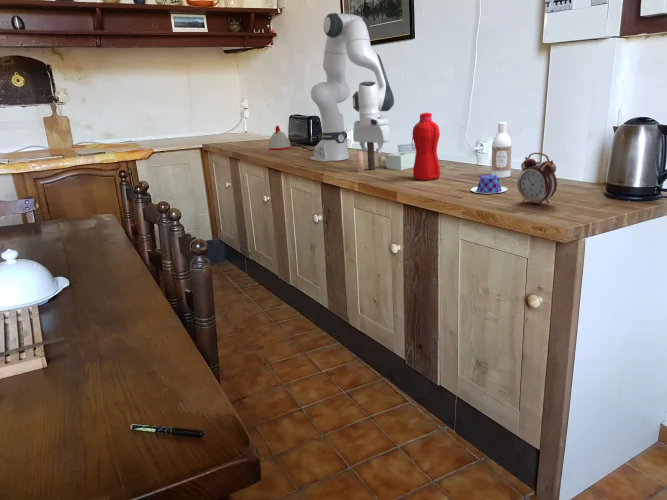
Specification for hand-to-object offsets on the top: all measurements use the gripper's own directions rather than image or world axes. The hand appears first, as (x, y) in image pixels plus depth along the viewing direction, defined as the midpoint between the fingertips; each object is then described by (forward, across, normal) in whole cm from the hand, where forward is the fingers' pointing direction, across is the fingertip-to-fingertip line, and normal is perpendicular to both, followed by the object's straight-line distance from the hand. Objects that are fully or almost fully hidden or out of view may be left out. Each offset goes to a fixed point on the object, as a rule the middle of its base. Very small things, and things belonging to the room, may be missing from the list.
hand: (371, 152), depth 229 cm
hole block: (+8, +8, +10) cm, 15 cm away
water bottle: (+8, +36, -6) cm, 37 cm away
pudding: (+9, +69, -11) cm, 70 cm away
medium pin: (+8, 0, -7) cm, 10 cm away
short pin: (+8, 0, +6) cm, 10 cm away
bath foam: (+8, +58, +12) cm, 60 cm away
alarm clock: (+8, +91, -19) cm, 93 cm away
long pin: (+8, 0, 0) cm, 8 cm away
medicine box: (+8, +2, +21) cm, 22 cm away
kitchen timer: (+7, -114, +25) cm, 117 cm away
